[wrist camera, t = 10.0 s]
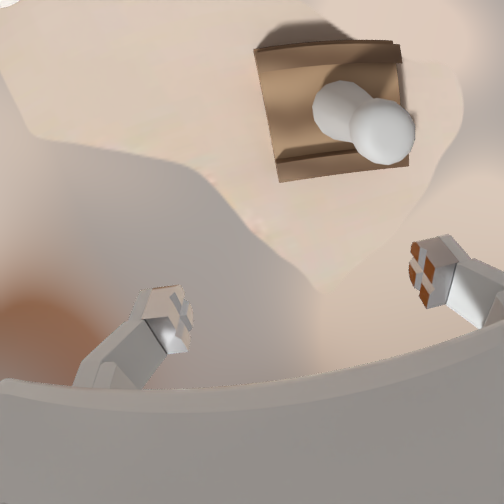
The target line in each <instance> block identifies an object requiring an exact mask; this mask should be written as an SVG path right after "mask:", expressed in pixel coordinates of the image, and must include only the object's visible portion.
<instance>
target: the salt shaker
mask: <svg viewBox="0 0 504 504" xmlns="http://www.w3.org/2000/svg"><path fill="white" fill-rule="evenodd" d="M312 109H313V116H314V121H315V122H316V124H317V125H318V127H319V128H320V130H321V131H322V133H324V134H326V135H327V136H329V137H331V138H332V139H334V140H340V141H346V142H351V143H353V144H354V146H355V148H356V149H357V151H358V152H359V153H360V154H361V155H362V156H364V157H365V158H367V159H368V160H370V161H371V162H374V163H377V164H384V165H391V164H394V163H396V162H399V161H401V160H402V159H403V158H404V157H405V156H407V155H408V154H409V153H410V151H411V149H412V146H413V144H414V141H415V124H414V122H413V120H412V118H411V116H410V114H409V113H408V112H407V111H406V110H405V109H404V108H402V107H401V106H400V105H399V104H397V103H396V102H395V101H391V100H386V99H381V98H375V99H373V98H372V97H371V96H370V95H369V94H368V93H367V92H366V91H365V90H364V89H362V88H361V87H359V86H358V85H357V84H355V83H354V82H348V81H341V80H339V81H336V82H332V83H329V84H326V85H325V86H324V87H323V88H322V89H321V90H320V91H319V92H318V93H317V94H316V96H315V99H314V102H313V105H312Z"/></svg>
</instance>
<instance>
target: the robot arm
mask: <svg viewBox="0 0 504 504" xmlns="http://www.w3.org/2000/svg"><path fill="white" fill-rule="evenodd" d="M18 1H19V0H0V8H4V7H8V6H10V5H13V4H15V3H16V2H18ZM410 252H411V254H412V255H413V258H412V260H411V261H410V262H409V277H410V280H411V283H412V285H413V286H414V288H416V289H417V290H419V291H420V294H419V297H420V299H421V301H422V302H423V304H424V306H425V308H426V309H429V308H433V307H436V306H441V305H444V304H446V305H447V306H448V307H449V308H451V309H452V310H454V311H455V312H456V313H458V314H459V315H460V316H462V317H463V318H465V319H466V320H467V321H469V322H470V323H471V324H473V325H474V326H475V327H477V328H478V330H476V331H473V332H470V333H468V334H465V335H462V336H459V337H456V338H454V339H451V340H448V341H445V342H442V343H439V344H436V345H432V346H429V347H426V348H423V349H419V350H416V351H413V352H409V353H406V354H403V355H399V356H395V357H391V358H388V359H383V360H379V361H375V362H371V363H367V364H363V365H358V366H354V367H349V368H345V369H340V370H335V371H330V372H325V373H320V374H314V375H308V376H302V377H296V378H290V379H283V380H275V381H268V382H259V383H251V384H241V385H231V386H219V387H206V388H186V389H150V390H149V389H142V388H143V387H144V386H145V384H146V383H147V381H148V380H149V379H150V378H151V376H152V375H153V374H154V372H155V371H156V370H157V368H158V367H159V366H160V364H161V363H162V362H163V360H164V359H165V358H166V356H167V354H174V353H182V352H189V347H190V342H191V336H190V334H189V331H190V330H191V329H192V328H193V323H194V317H193V311H192V308H191V305H190V303H189V302H188V301H187V300H185V299H184V295H185V292H184V290H183V288H182V286H180V285H172V286H164V287H157V288H151V289H144V290H141V291H140V292H139V294H138V296H137V299H136V301H135V304H134V306H133V309H132V311H131V314H130V317H129V319H128V321H127V322H123V323H122V324H121V325H120V326H119V327H118V328H117V329H116V330H115V331H114V332H113V333H111V334H110V335H109V336H108V337H107V338H106V339H105V340H104V341H103V342H102V343H101V344H100V345H98V346H97V347H96V348H95V349H94V350H93V351H92V352H91V353H90V354H89V355H88V356H87V357H86V358H85V359H83V360H82V362H81V365H80V367H79V370H78V372H77V375H76V377H75V380H74V383H73V386H63V385H53V384H44V383H36V382H29V381H23V380H17V379H11V378H7V379H3V380H2V381H1V382H0V504H504V272H503V271H501V270H499V269H497V268H495V267H492V266H490V265H488V264H486V263H484V262H482V261H479V260H477V259H471V258H470V257H469V256H468V254H467V253H466V252H465V251H464V250H463V249H462V248H461V246H460V245H459V244H458V243H457V242H456V241H455V240H454V239H453V237H452V236H451V235H449V234H446V235H442V236H437V237H435V238H430V239H426V240H421V241H416V242H413V243H412V245H411V251H410Z"/></svg>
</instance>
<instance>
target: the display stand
mask: <svg viewBox="0 0 504 504" xmlns="http://www.w3.org/2000/svg"><path fill="white" fill-rule="evenodd" d="M253 52H254V56H255V61H256V66H257V70H258V75H259V80H260V85H261V90H262V95H263V100H264V105H265V110H266V115H267V120H268V125H269V130H270V136H271V141H272V147H273V152H274V158H275V163H276V169H277V174H278V179H279V182H280V183H282V182H288V181H295V180H301V179H308V178H315V177H322V176H329V175H336V174H344V173H352V172H360V171H368V170H377V169H386V168H396V167H406V166H409V154H408V155H407V156H405V157H404V158H403V159H402V160H401V161H399V162H396V163H394V164H391V165H384V164H377V163H374V162H371V161H370V160H368V159H367V158H365V157H364V156H362V155H361V154H360V153H359V152H358V151H357V149H356V148H355V146H354V144H353V143H351V142H346V141H340V140H334V139H332V138H331V137H329V136H327V135H326V134H324V133H322V131H321V130H320V128H319V127H318V125H317V124H316V122H315V121H314V116H313V109H312V105H313V102H314V99H315V96H316V94H317V93H318V92H319V91H320V90H321V89H322V88H323V87H324V86H325V85H326V84H329V83H332V82H336V81H339V80H341V81H348V82H354V83H355V84H357V85H358V86H359V87H361V88H362V89H364V90H365V91H366V92H367V93H368V94H369V95H370V96H371V97H372V98H373V99H375V98H381V99H386V100H391V101H395V102H396V103H397V104H399V105H400V94H399V84H398V75H397V67H396V63H402V57H401V50H400V45H399V44H393V41H388V40H336V41H319V42H306V43H296V44H287V45H279V46H272V47H265V48H259V49H254V51H253Z"/></svg>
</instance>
